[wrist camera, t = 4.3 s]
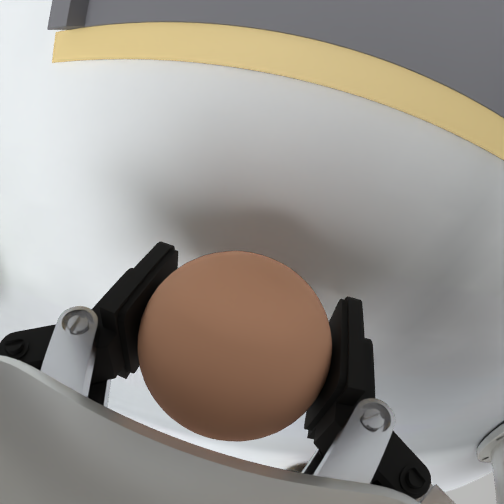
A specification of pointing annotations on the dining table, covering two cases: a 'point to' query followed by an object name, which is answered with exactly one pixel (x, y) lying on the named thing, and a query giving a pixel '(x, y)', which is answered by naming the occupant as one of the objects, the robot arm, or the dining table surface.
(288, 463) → the dining table surface
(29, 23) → the dining table surface
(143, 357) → the ball
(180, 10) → the open-sided gray tray
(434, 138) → the dining table surface
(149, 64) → the dining table surface
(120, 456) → the robot arm
